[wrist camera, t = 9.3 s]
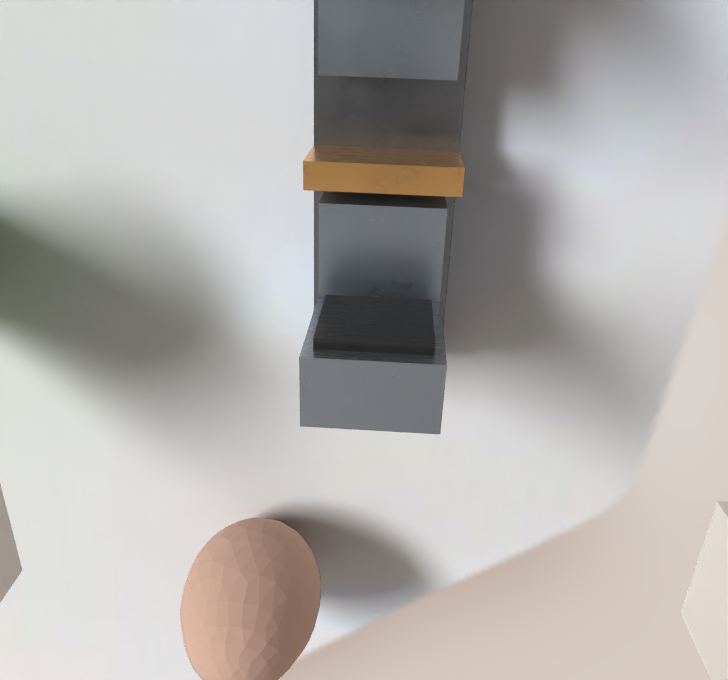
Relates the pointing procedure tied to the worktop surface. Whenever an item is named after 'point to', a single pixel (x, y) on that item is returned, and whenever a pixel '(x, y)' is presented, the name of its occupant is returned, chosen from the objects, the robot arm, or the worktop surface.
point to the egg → (250, 602)
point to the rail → (389, 103)
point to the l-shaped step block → (377, 315)
